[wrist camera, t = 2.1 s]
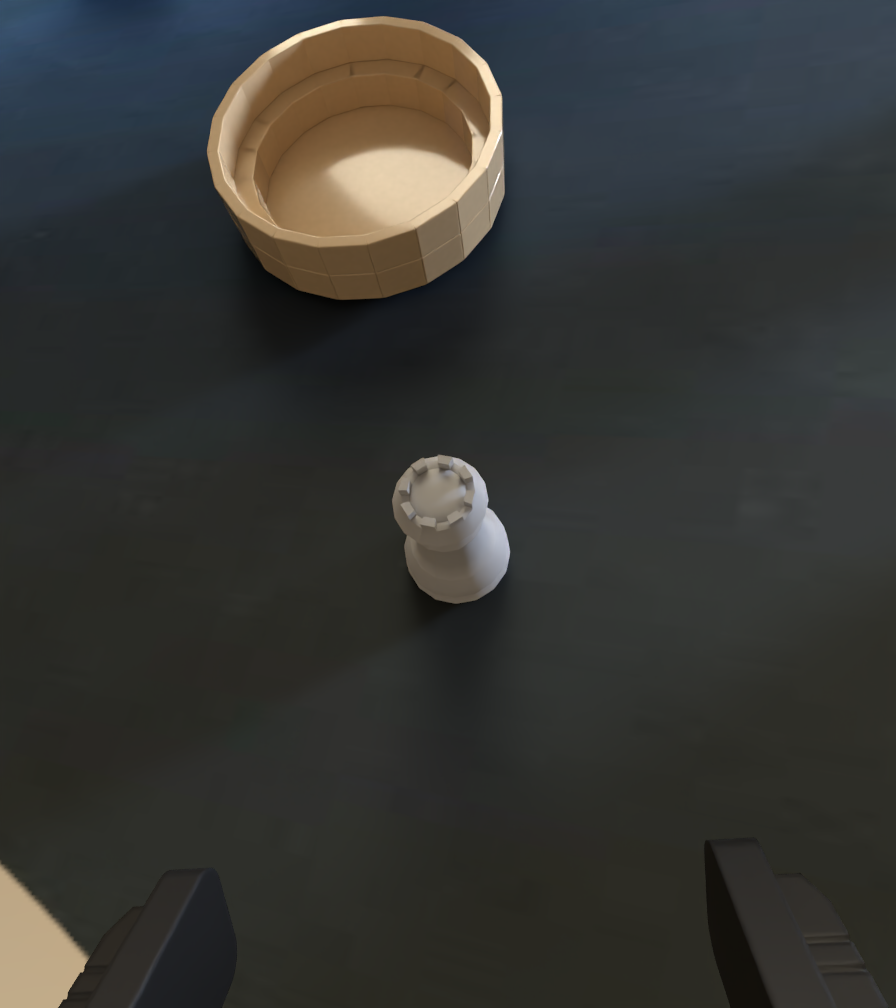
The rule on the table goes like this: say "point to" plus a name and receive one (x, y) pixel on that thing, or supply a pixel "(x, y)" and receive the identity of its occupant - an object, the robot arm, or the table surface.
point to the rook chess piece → (450, 530)
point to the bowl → (361, 156)
